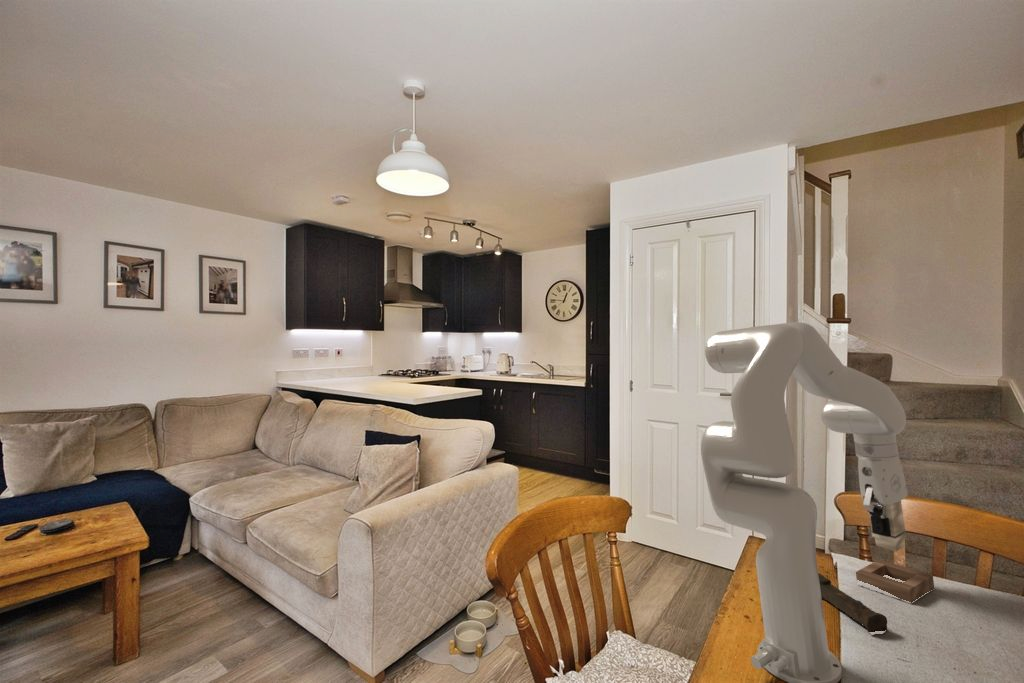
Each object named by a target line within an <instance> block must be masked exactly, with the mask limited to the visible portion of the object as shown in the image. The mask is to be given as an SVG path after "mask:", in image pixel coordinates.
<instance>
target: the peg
mask: <svg viewBox="0 0 1024 683" xmlns="http://www.w3.org/2000/svg"><path fill="white" fill-rule="evenodd" d="M873 502H878V501H877V500H875V499H874V501H873ZM878 503H879V502H878ZM874 507H877V508H878V509H879V510H880V506H877V505H874ZM868 518H869V526H870V533H871V537H872V538H874V540H875V547H880V548H883V549H887V550H890V551H894V552H898V551H900V550H902V549H903V548H904V547H905V546H906V544H905V542H906V541H905V539H907V530H906V527H905V526H906V525H905V520H904V512H903V506H902V500H900V501H898V502H896V503H894V504H892V505H890V506H886V518H888V519H889V526H890V533H891V536H890V537H886V536H882V535H878V534H875V533H873V530H872V523H871V516H870V515H869V514H868Z"/></svg>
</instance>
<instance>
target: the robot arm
mask: <svg viewBox="0 0 1024 683" xmlns="http://www.w3.org/2000/svg"><path fill="white" fill-rule="evenodd" d="M704 355H705V359H706V361H707V363H708V365H709V366H710V367H711V368H712V370H715V371H716V372H718V373H721V374H741V375H740V377H739V378H738V380H737V381H736V383H735V385H734V387H733V389H732V392H731V394H730V395H731V396H730V406H731V413H732V417H733V421H726V420H725V421H724V420H723V421H716V422H713V423H712V424H710V425H708V427H706V429H705V430H704V431H703V434H702V438H701V443H700V454H701V455H700V456H701V461H702V466H703V471H704V474H705V479H706V484H707V489H708V493H709V498H710V502H711V506H712V508H713V511H714V513H715V514H716V516H717V517H718V519H719V520H721V521H722V522H723V523H726V524H728V525H732V526H735V527H738V528H741V529H745V530H749V531H752V532H755V533H758V534H761V535H763V536H765V541H764V543H763V544H762V545H761V546H760V547H759V549H758V550H757V552H756V556H755V566H756V573H757V582H758V591H759V597H760V605H761V614H762V621H763V622H762V623H763V629H764V630H763V631H764V638H762V641H760V643H759V644H758V646H757V653H756V654H754V655H752V656H751V657H750V662H751V664H752V666H753V667H754V668H755V669H756V670H761V669H762V668H764V669H766V670H767V672H769V673H770V674H772V675H773V676H775V677H776V678H778V679H780V680H782V681H784V682H787V683H839V682H840V680H841V679H842V676H843V669H842V665H841V664H842V663H841V662H840V660H839V659H838V657H837V656H836V655H835V654H834V653H833V652H832V651H830V650H829V645H828V638H827V637H828V636H827V630H826V624H825V615H824V607H823V600H822V598H821V590H820V583H819V576H818V573H819V569H818V561H817V548H816V543H817V542H816V539H817V525H818V523H817V521H818V511H817V508H818V507H817V505H816V502H815V500H814V498H813V497H812V496H811V495H810V494H809V493H808V491H806V490H804V489H802V488H801V487H798V486H796V485H793V484H790V483H786V482H781V481H777V480H776V481H775V480H769V479H781V478H785V477H788V476H789V475H791V474H792V473H793V471H794V469H795V464H796V457H795V450H794V444H793V440H792V434H791V430H790V424H789V420H788V415H787V410H786V403H785V396H786V395H785V393H786V390H787V385H788V382H789V380H790V378H791V376H793V378H794V379H795V380H796V381H797V382H798V384H799V385H800V386H801V388H802V389H803V390H805V392H807V393H810V394H812V395H814V396H817V397H820V398H823V399H826V400H827V399H828V400H829V401H828V402H826V403H825V404H824V405H823V407H822V408H821V413H820V417H821V421H822V423H823V425H824V426H825V427H826V428H827V429H829V430H830V431H833V432H836V433H839V434H841V433H843V434H851V435H852V436H853V442H854V449H855V456H856V457H857V463H858V464H857V468H858V472H857V473H858V481H859V483H858V484H859V491H860V495H861V496H860V497H861V499H862V501H863V503H862V507H863V509H865V510H866V511H867V512H868V516H869V515H870V516H871V523H872V530H873V533H875V534H878V535H882V536H886V537H890V536H891V533H890V526H889V519H888V518H886V506H890V505H892V504H894V503H896V502H898V501H900V500H901V501H902V500H904V499H906V498H907V497H908V495H909V494H908V488H907V484H906V478H905V474H904V470H903V465H902V462H901V460H900V457H899V456H900V455H899V451H898V450H899V449H898V443H897V435H899V434H901V433H902V432H903V431H904V430H905V428H906V425H907V415H906V412H905V409H904V407H903V406H902V404H901V401H900V400H899V399H898V397H897V396H896V394H895V393H894V392H893V391H892V390H891V388H890V387H889V386H888V385H887V384H886V383H884V382H883V381H881V380H879V379H877V378H875V377H872V376H871V375H867V374H866V373H863V372H861V371H859V370H857V369H855V368H852V367H849V366H846V365H844V364H843V363H842V361H841V360H840V359H839V358H838V357H837V355H836V354H835V352H834V351H833V350H832V348H831V347H830V346H829V344H828V343H827V342H826V341H825V339H824V338H823V337H822V335H821V334H820V333H819V331H817V329H816V328H815V327H814V326H812V325H810V324H809V323H805V322H799V321H794V322H792V321H791V322H784V323H777V324H775V323H774V324H768V325H759V326H752V327H745V328H737V329H729V330H724V331H723V330H722V331H717V332H716V333H714V334H712V335H711V336H710V337H709V338H708V340H707V342H706V344H705V349H704ZM744 475H747V476H744ZM748 476H753V477H748ZM756 477H757V478H756ZM758 477H759V478H758ZM760 477H761V478H760ZM765 478H766V479H765ZM767 478H768V479H767ZM874 499H875V500H877V501H878V502H879V503H878V502H873V501H874ZM874 505H877V506H880V510H879V509H878V508H877V507H874Z"/></svg>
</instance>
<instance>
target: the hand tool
mask: <svg viewBox="0 0 1024 683" xmlns="http://www.w3.org/2000/svg"><path fill="white" fill-rule="evenodd" d="M818 576H819V583H820V590H821V598H822V601H827V602H829V603H830V604H831V605H833V606H834V607H835V608H836V609H838V610H839V611H841V610H842V611H841V612H843V613H844V612H845V614H846V615H847V616H848V615H849V616H848V617H850V618H851V617H852V618H851V619H853V618H854V619H855V620H854V619H853V620H854V621H856V620H857V621H858V622H860V623H861V624H863V625H864V626H865V627H864V626H863V627H864V628H866V629H867V632H868V633H869V632H875V631H885V630H887V629H888V619H887V616H885V615H884V614H883V613H880V612H876V611H874V610H872V609H871V608H870V607H868V606H866V605H865V604H863V603H862V601H860V600H856V599H855V598H853V597H852V596H850V595H848V594H847V593H845V592H843V591H842V590H840V589H839V588H837V587H836V586H834V585H833V584H832V581H831V580H830V579H829V578H827V577H825V575H823V574H821V573H819V572H818ZM857 621H856V622H857ZM858 622H857V623H858ZM860 623H859V624H860ZM861 624H860V625H861ZM887 631H888V630H887Z"/></svg>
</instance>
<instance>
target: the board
mask: <svg viewBox="0 0 1024 683" xmlns="http://www.w3.org/2000/svg"><path fill="white" fill-rule="evenodd" d="M884 575H888V576H890V577H892V578H895V579H900V580H902V581H905V582H903V583H902V582H898V581H895V580H892V579H889V578H886V577H883V576H884ZM855 576H856V577H855V578H856V581H857V580H859V581H862V582H864V583H868V584H870V585H873V586H875V587H878V588H879V589H881V590H883V591H886V592H888V593H890V594H892V595H894V596H896V597H898V598H900V599H903V600H906V601H909V602H911V603H912V602H913V601H915V600H916V599H918V598H919V597H921V596H922V595H924V594H925V593H927V592H929V591H931V590H933V589H936V588H935V583H934V576H933V574H930V573H925V572H923V571H920V570H916V569H913V568H909V567H906V566H903V565H899V564H896V563H893V562H888V561H885V560H882V559H878V560H876V561H874V562H872V563H870V564H868V565H866V566H864V567H863V568H861V569H859V570H856V571H855ZM933 591H934V590H933Z"/></svg>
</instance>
